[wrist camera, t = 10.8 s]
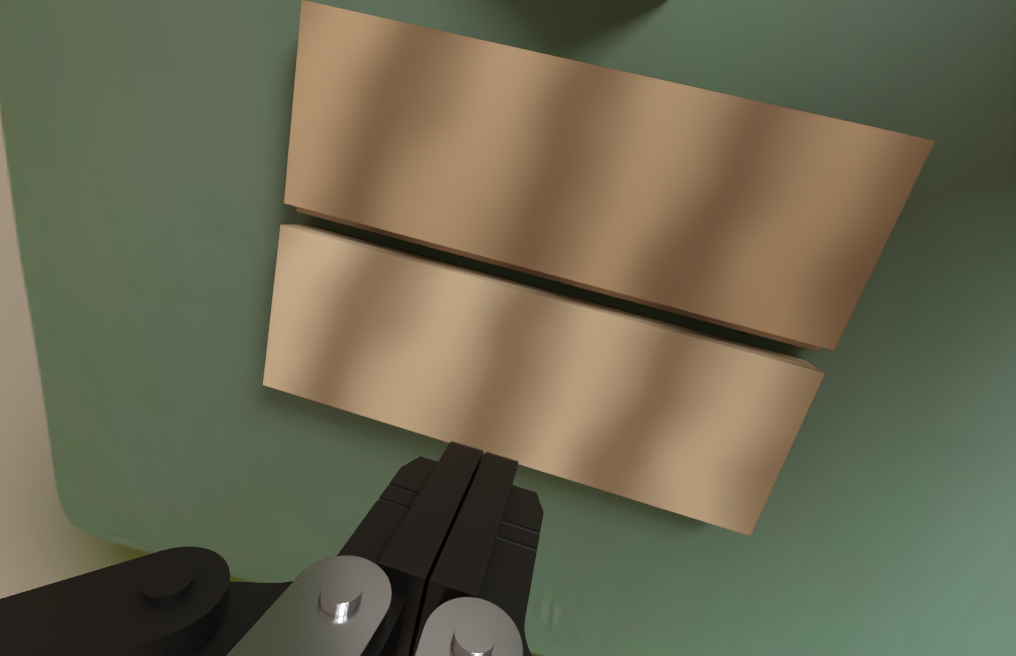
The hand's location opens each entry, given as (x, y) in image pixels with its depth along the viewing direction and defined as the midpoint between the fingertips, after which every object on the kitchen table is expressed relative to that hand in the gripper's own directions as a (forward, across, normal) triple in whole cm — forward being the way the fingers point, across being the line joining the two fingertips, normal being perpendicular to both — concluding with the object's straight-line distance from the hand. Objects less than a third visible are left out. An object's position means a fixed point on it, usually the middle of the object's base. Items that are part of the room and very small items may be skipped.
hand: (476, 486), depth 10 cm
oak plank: (+13, +1, +2) cm, 13 cm away
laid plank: (+13, 0, -7) cm, 15 cm away
